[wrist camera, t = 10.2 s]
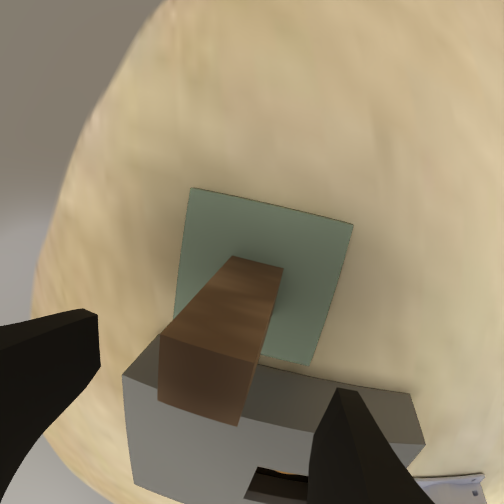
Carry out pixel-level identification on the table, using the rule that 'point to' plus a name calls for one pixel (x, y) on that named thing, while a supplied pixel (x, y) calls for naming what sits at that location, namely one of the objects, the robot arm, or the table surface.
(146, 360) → the panel
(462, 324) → the table surface
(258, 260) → the mat
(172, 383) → the wooden peg
